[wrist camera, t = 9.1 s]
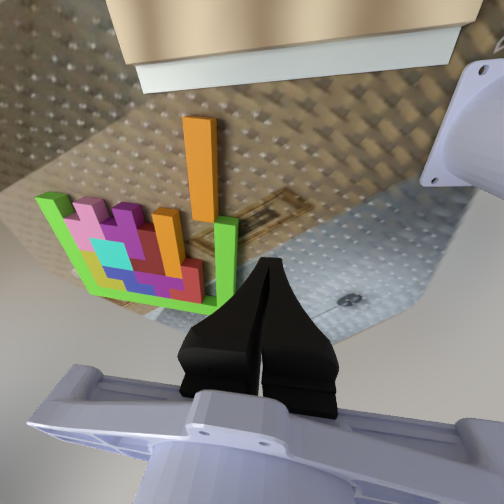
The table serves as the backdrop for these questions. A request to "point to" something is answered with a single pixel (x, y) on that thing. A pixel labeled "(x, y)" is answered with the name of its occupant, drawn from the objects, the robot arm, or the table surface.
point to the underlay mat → (303, 61)
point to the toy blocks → (151, 238)
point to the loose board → (268, 24)
